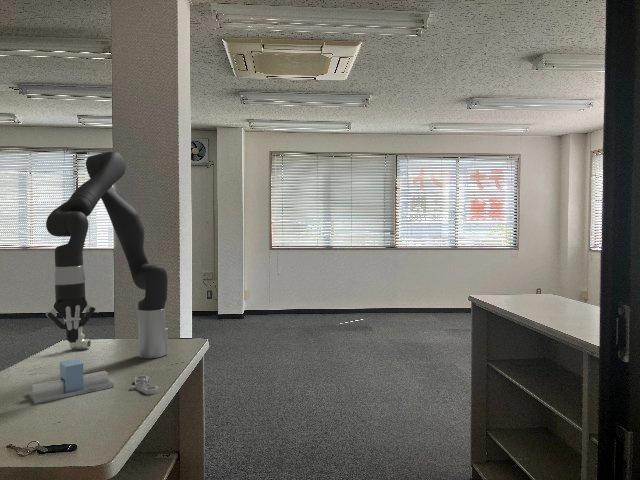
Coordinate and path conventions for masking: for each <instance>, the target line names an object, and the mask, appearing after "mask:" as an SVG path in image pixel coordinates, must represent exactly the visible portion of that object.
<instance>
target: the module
mask: <svg viewBox="0 0 640 480" xmlns="http://www.w3.org/2000/svg"><path fill="white" fill-rule="evenodd" d="M83 375H84V363H83V362H82V361H80V360H79V359H77V358H75V359H71V360H64V361H60V362H59V379H64V380H65V391H66V392H68V391H73V390H77V389H82V388H84V381H83Z"/></svg>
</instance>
